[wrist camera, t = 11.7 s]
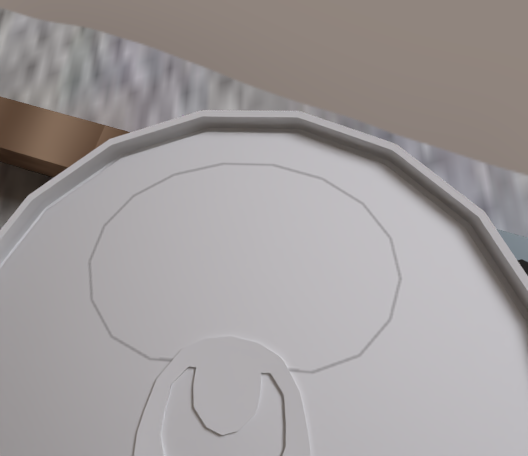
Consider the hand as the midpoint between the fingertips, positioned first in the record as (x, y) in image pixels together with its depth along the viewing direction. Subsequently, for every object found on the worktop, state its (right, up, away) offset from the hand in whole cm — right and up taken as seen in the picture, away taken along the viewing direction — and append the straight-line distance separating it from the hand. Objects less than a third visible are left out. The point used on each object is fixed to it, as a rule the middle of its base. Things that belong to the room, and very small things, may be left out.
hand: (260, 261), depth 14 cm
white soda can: (+1, -5, +6) cm, 8 cm away
